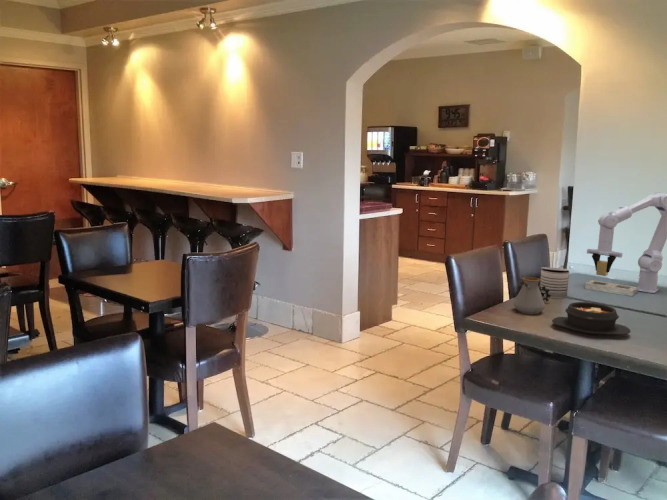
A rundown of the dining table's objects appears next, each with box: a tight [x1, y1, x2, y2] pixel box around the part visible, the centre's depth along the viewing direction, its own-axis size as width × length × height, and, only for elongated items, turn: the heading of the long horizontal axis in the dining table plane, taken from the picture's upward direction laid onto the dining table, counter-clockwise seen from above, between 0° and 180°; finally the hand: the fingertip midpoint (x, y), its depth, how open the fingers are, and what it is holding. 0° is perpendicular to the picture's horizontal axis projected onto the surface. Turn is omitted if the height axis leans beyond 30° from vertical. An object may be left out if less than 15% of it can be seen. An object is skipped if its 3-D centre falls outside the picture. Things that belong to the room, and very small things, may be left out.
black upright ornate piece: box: [538, 286, 551, 302], centre depth 242 cm, size 7×7×12 cm
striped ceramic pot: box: [539, 266, 570, 299], centre depth 257 cm, size 11×11×12 cm
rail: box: [584, 279, 639, 297], centre depth 270 cm, size 9×20×2 cm, turn 51°
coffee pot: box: [513, 276, 546, 315], centre depth 225 cm, size 21×12×15 cm, turn 150°
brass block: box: [595, 260, 609, 277], centre depth 270 cm, size 4×4×6 cm
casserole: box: [551, 301, 631, 336], centre depth 207 cm, size 25×19×8 cm
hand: (602, 271), depth 270 cm, fingers closed on brass block, 4 cm apart
